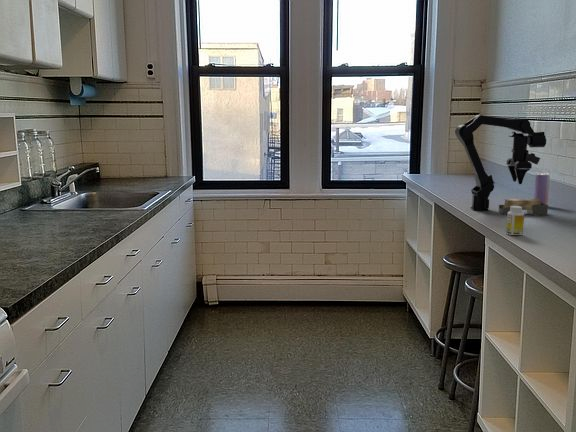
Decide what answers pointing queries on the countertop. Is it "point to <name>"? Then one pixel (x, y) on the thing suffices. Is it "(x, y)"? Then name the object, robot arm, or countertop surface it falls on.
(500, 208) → the dark grey arch block
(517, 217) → the supplement bottle
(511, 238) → the countertop surface
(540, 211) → the bracket
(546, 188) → the beverage can
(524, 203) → the rail
